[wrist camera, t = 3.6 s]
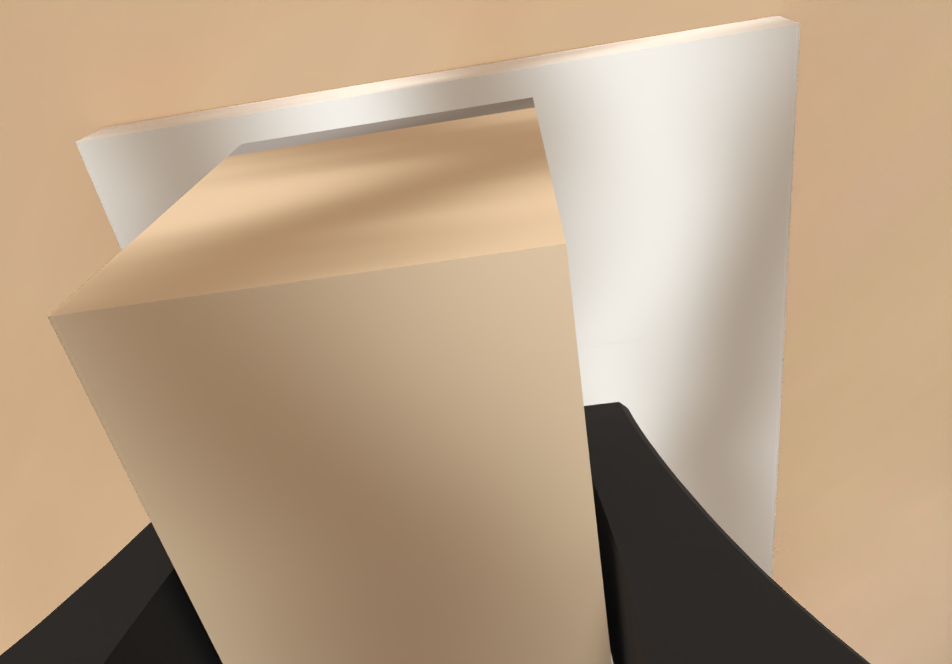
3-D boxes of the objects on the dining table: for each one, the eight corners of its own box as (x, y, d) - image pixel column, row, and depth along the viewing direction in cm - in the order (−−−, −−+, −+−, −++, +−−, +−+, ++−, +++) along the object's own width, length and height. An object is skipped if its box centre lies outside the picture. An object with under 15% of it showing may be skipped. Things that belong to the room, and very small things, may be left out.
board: (777, 15, 14) (800, 23, 13) (755, 630, 23) (767, 664, 22) (103, 127, 16) (75, 142, 15) (323, 668, 24) (315, 702, 23)
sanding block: (533, 97, 10) (566, 244, 5) (585, 539, 13) (630, 835, 9) (241, 143, 10) (46, 316, 6) (373, 561, 14) (319, 854, 9)
